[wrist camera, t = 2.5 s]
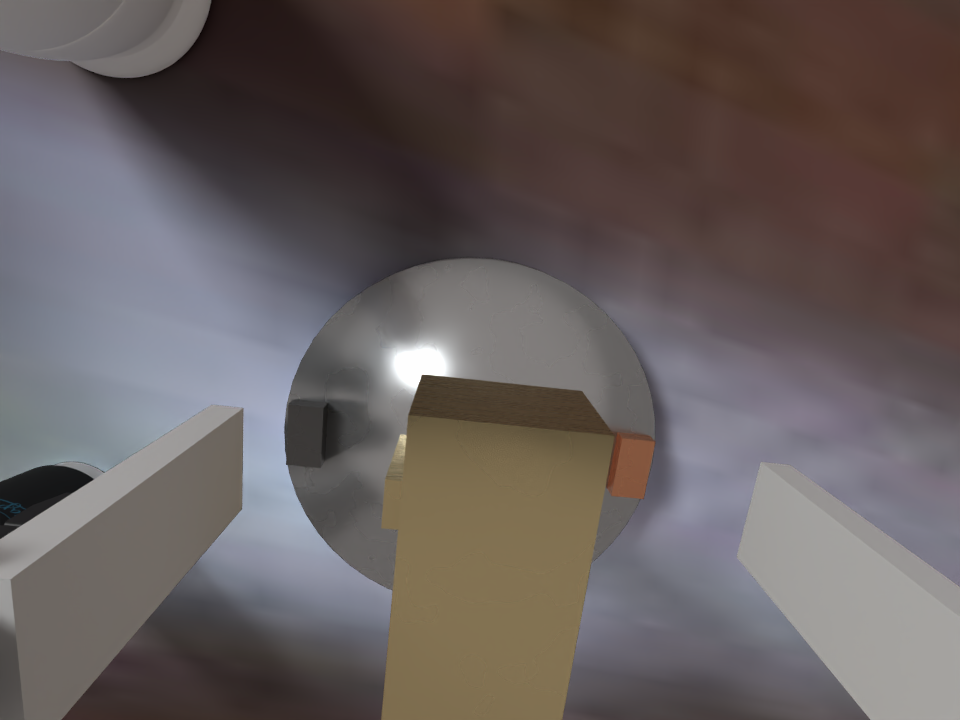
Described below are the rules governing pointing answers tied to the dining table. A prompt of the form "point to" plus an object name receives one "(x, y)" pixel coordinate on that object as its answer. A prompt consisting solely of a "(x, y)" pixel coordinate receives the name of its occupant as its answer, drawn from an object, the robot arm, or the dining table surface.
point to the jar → (103, 32)
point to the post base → (461, 354)
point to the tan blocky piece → (490, 548)
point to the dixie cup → (42, 486)
